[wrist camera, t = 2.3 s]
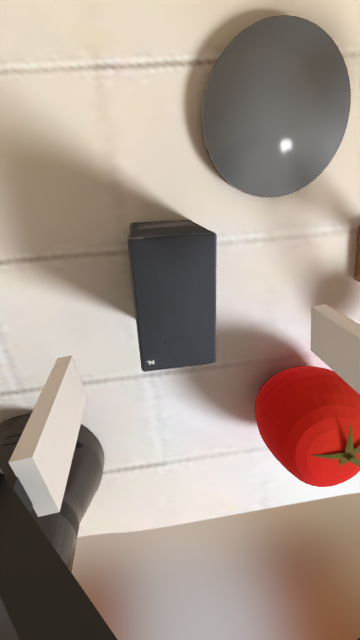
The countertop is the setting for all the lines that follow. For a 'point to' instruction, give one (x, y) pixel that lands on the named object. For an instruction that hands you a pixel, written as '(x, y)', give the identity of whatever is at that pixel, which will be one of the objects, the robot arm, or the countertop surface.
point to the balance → (358, 258)
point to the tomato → (311, 424)
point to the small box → (174, 293)
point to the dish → (276, 106)
